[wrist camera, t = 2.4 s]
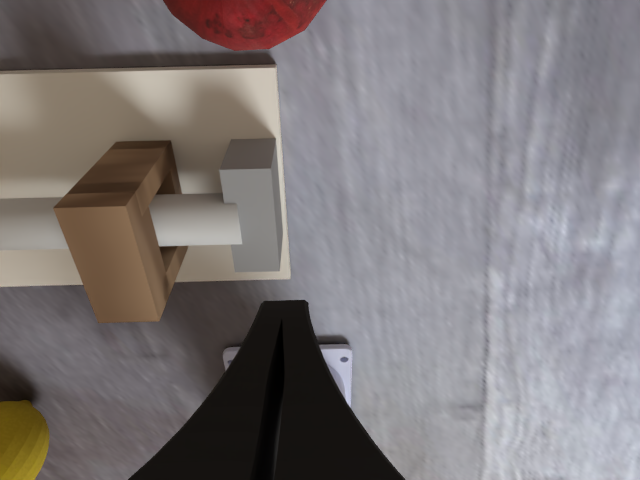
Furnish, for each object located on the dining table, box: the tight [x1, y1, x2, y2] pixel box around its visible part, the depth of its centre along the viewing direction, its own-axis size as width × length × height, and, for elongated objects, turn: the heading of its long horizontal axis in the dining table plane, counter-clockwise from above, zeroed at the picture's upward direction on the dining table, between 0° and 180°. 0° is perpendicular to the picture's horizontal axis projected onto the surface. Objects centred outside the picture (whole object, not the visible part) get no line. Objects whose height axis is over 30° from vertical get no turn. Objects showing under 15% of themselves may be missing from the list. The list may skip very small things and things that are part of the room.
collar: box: [53, 140, 189, 323], centre depth 19 cm, size 2×5×6 cm, turn 1°
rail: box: [0, 64, 291, 287], centre depth 20 cm, size 24×11×5 cm, turn 91°
